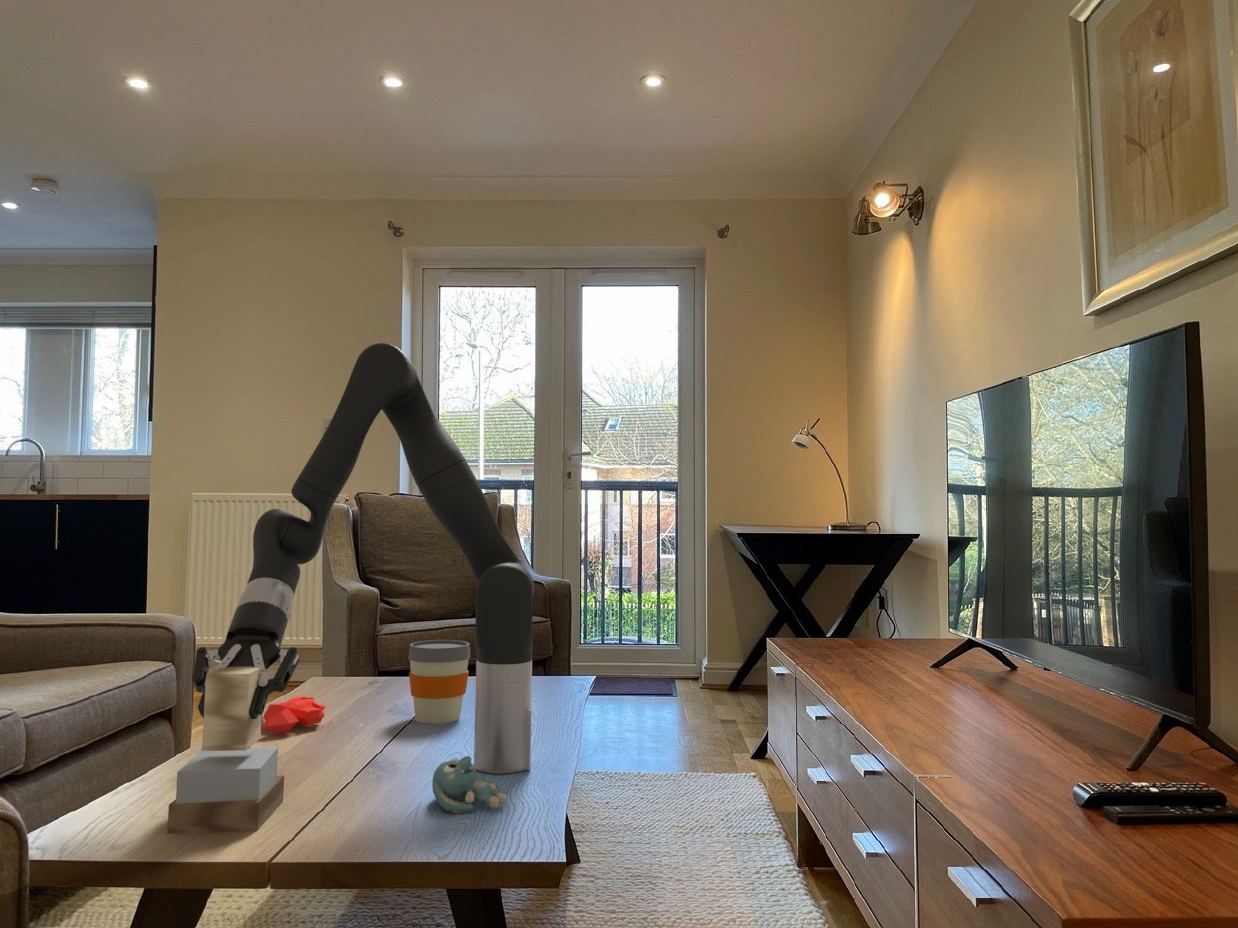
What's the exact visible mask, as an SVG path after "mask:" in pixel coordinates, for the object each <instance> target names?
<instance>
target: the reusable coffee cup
mask: <svg viewBox="0 0 1238 928" xmlns="http://www.w3.org/2000/svg"><path fill="white" fill-rule="evenodd" d="M408 650H409V651H408V657H407V659H408V660H409V666H410V670H409V672H408V675H409V676H408V677H409V688H410V695H411V696H412V698H413V700H412V701H413V707H414V719H415V721H416V722H418V723H423V724H434V725H436V724H438V725H439V724H448V723H453V722H455V721H459V719H460V718H461V714H462V711H461V710H462V705H463V700H464V699H463V698H464V695H465V694H466V693H467V686H468V678H469V670H468V666H469V659H470V658H471V647H470V642H467V641H464V640H458V639H457V640H456V639H455V640H454V639H432V640H431V639H430V640H429V639H428V640H422V641H421V640H420V641H416V642H411V643H410V644H409V649H408Z"/></svg>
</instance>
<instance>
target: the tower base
mask: <svg viewBox="0 0 1238 928" xmlns="http://www.w3.org/2000/svg"><path fill="white" fill-rule="evenodd" d="M284 788H285V775H277V776H276V778H275V779H274V780H273V782H272V783H271V784H270V786H269V787H268V788H267V790H266V791H265V792H264V794H263V795H262V796H261V798H260V799H259V800H244V801H223V802H202V803H181V804H176V798H175V799H174V800H173V801H172V802H170V803H168V811H167V812H168V814H167V815H168V816H167V832H166V833H167V834H191V833H194V834H196V833H197V834H198V833H224V832H225V833H229V832H230V833H231V832H258V831H259V830H260V829H261V827H263V825H264V824H265V823H266V822H267V820H269V818H270V817H271V816H272V815H273V814H274V813H275V811H277V809H278V808H279V807H280V806H281V805H282V804H283V803H284V790H285V789H284Z"/></svg>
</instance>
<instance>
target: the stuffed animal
mask: <svg viewBox="0 0 1238 928" xmlns="http://www.w3.org/2000/svg"><path fill="white" fill-rule="evenodd" d="M431 785H432V793H433V795H434V798H435V800H436V801H437V803H438V804H439V805H440V807H441V808H442V809H443V810H444V811H445V812H448V813H453V814H463V813H467V812H473V808H474V805H473V804H472V803H474V802H476V803H477V804H482V805H485V804H486V805H487V806H488V807H489V808H491V809H497V808H498V807H499V805H500V806H503V805H504V804H505V803H506V801H507V795H506V794H505V793H502V792H500V791H501V790H500V787H499V786H498V785H497V784H496V783H495V782H493V781H491V780H487V779H483V778H478V777H477V769H476V768H475V767H474V764H473V763H472V757H471V756H470V755H468V756H463V757H462V758H461V759H458V758H452V759H450V760H448V761H444V762H442V763H440V764H439V765H438V766H437V768H436V769H435V770H434V772H433V775H432V784H431ZM463 801H465V803H464V802H463Z"/></svg>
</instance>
